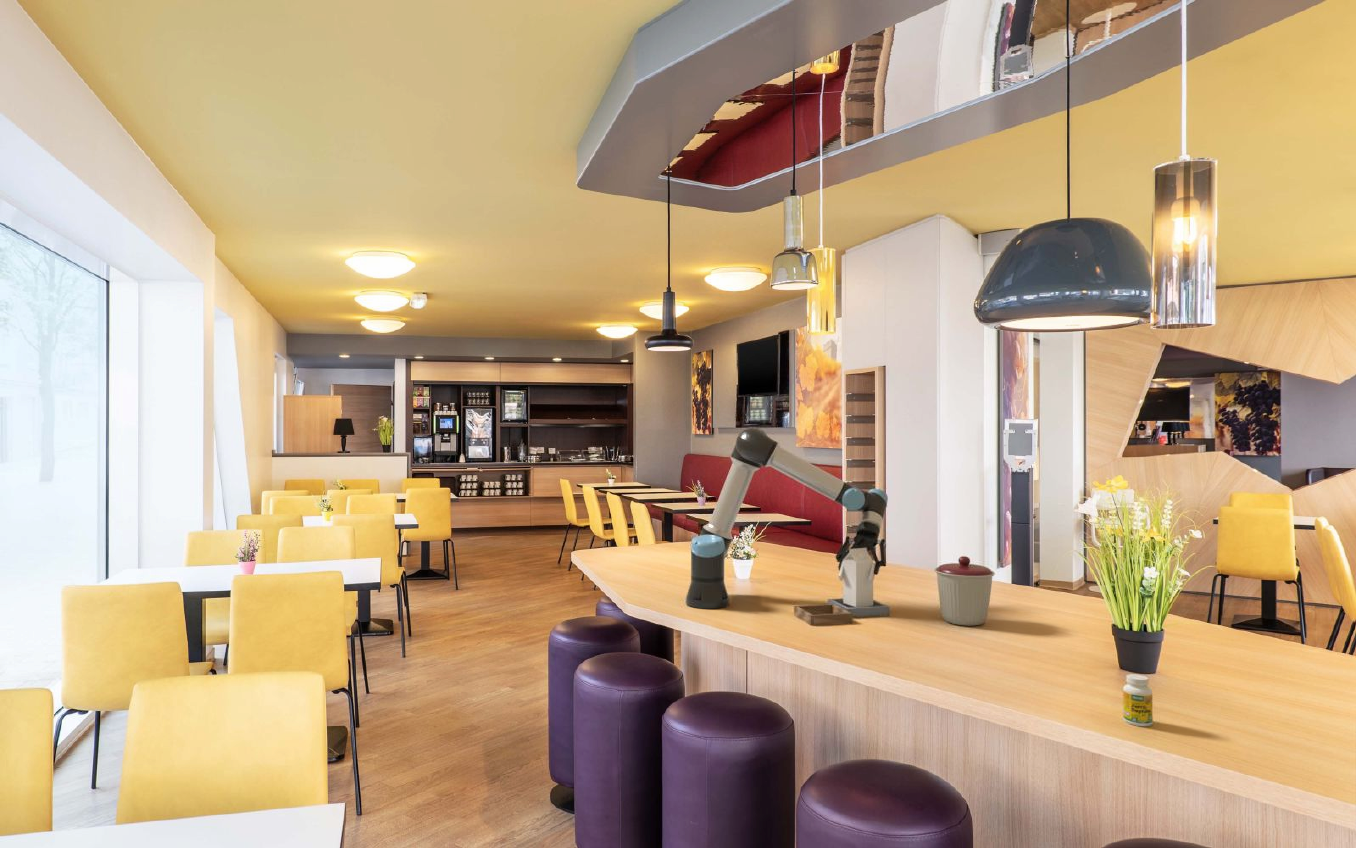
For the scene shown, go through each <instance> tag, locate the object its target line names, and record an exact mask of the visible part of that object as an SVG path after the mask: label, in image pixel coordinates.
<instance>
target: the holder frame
mask: <svg viewBox="0 0 1356 848" xmlns="http://www.w3.org/2000/svg"><path fill="white" fill-rule="evenodd" d="M793 615H794V616H795V617H796V618H798V619H799V620H801V621H803V622H804V623H807V624H808V625H809V626H824V625H825V626H826V625H841V624H842V625H843V624H852V623H853V618H852V613H850V612H848V611H846V610H844V609H842V608H840V607H838V606H836V605H834V604H828V603H826V604H808V605H807V604H806V605H794V606H793Z"/></svg>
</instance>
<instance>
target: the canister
mask: <svg viewBox="0 0 1356 848" xmlns="http://www.w3.org/2000/svg"><path fill="white" fill-rule="evenodd" d="M957 561H958V562H957V563H956V562H955V563H951V562H950V563H944V564H941V565H939V566H938V567H935V568H934V572H935V573H936V580H937V589H938V599H939V605H940V612H941V616H942V618H943V619H944V621H945V622H947V623H950V624H953V625H956V624H957V626H963V627H964V626H966V627H967V626H968V627H972V626H973V627H975V626H981V625H984V624H985V623H986V620H987V618H988V615H989V609H990V601H991V592H992V585H993V584H992V583H993V577H994V576H995V571H993V570H992V569H990V568H989V567H987V566H984V565H980V564H973V563H971V559H970V557H968V556H966V555H965V556H960V557H958V560H957Z"/></svg>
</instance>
